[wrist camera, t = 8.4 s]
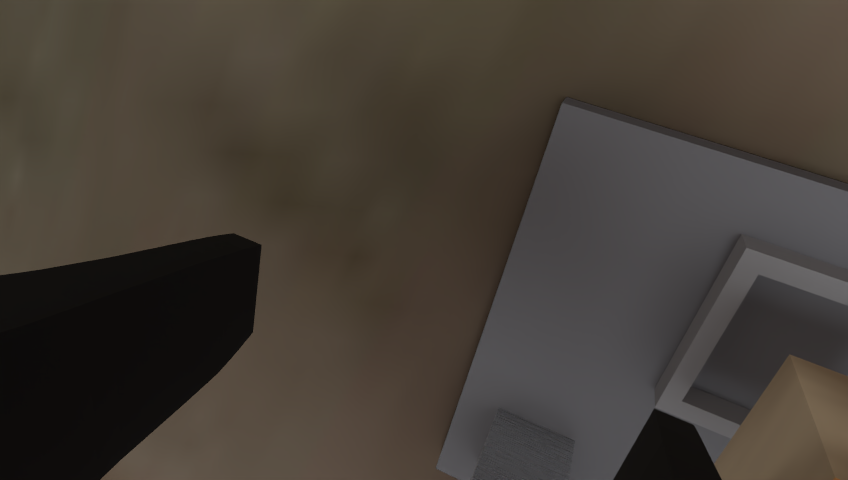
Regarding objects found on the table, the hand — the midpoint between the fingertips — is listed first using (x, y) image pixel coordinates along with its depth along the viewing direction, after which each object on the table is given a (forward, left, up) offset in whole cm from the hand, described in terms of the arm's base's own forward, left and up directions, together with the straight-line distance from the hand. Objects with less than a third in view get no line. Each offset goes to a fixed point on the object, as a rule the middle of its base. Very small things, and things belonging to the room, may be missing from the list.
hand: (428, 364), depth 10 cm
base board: (-8, +5, -10) cm, 14 cm away
